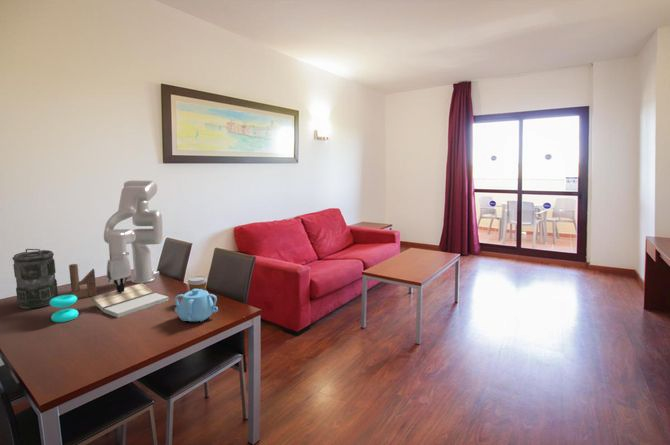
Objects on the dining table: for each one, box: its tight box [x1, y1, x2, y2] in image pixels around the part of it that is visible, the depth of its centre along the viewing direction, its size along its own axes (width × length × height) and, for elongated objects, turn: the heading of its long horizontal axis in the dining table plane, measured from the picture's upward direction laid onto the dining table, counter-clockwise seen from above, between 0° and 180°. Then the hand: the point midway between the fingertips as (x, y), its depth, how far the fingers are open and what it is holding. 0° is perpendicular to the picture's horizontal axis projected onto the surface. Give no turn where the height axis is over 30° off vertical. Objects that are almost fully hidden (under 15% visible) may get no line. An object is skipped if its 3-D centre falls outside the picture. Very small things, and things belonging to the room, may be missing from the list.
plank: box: [91, 283, 154, 312], centre depth 189 cm, size 26×10×2 cm, turn 149°
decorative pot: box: [174, 289, 219, 323], centre depth 170 cm, size 16×16×14 cm
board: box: [103, 291, 170, 318], centre depth 184 cm, size 26×12×2 cm, turn 149°
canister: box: [12, 248, 59, 310], centre depth 183 cm, size 16×16×28 cm
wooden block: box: [68, 263, 98, 300], centre depth 194 cm, size 4×11×18 cm, turn 130°
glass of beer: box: [187, 275, 208, 291], centre depth 191 cm, size 10×10×12 cm
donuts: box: [49, 294, 79, 323], centre depth 167 cm, size 10×10×10 cm
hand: (120, 291), depth 189 cm, fingers closed
